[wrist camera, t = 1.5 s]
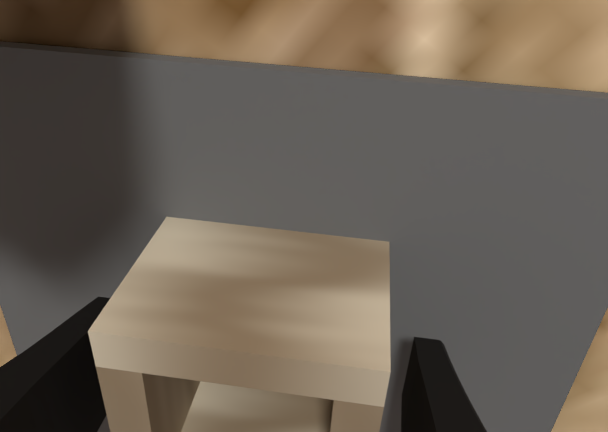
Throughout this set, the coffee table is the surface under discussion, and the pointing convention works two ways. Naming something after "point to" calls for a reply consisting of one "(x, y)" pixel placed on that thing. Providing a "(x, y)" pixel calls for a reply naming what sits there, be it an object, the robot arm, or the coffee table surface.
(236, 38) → the coffee table surface
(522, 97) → the mat
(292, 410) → the collar
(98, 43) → the coffee table surface
